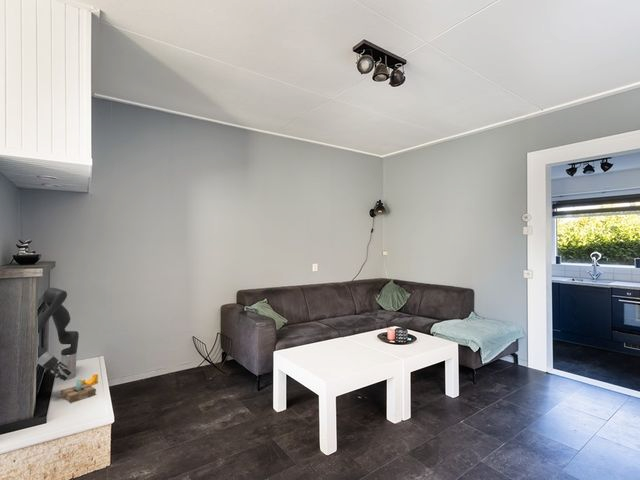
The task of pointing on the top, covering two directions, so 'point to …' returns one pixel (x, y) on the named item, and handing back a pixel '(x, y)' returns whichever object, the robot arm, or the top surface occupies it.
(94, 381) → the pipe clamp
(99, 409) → the top surface
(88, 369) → the top surface
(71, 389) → the walnut socket block
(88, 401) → the top surface
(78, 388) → the teal peg
